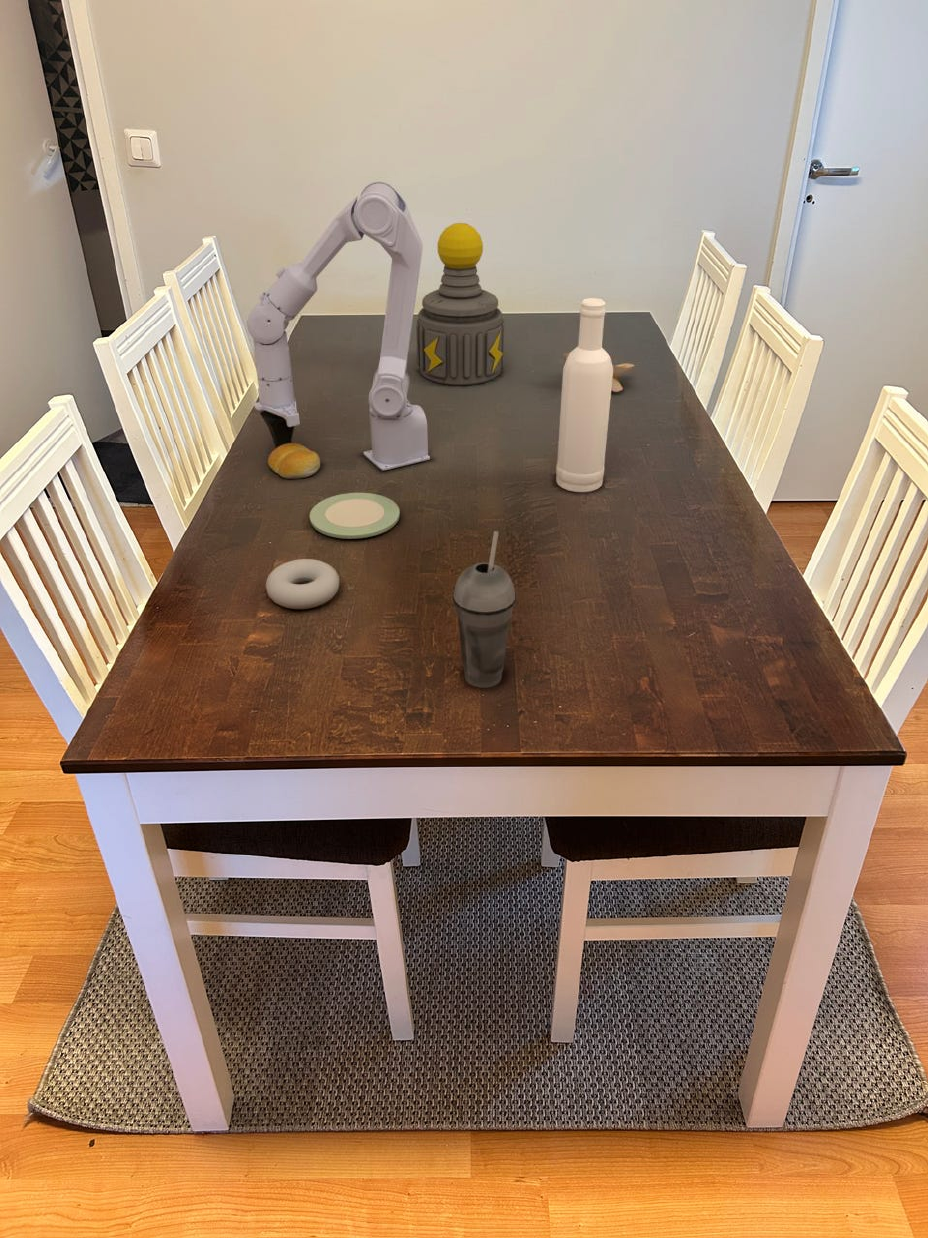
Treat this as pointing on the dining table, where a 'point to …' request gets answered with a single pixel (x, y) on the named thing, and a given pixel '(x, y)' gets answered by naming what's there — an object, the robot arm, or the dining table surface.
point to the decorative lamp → (460, 317)
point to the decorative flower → (614, 373)
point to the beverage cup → (484, 619)
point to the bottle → (585, 405)
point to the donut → (302, 596)
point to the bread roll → (294, 461)
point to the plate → (354, 515)
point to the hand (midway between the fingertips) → (283, 450)
